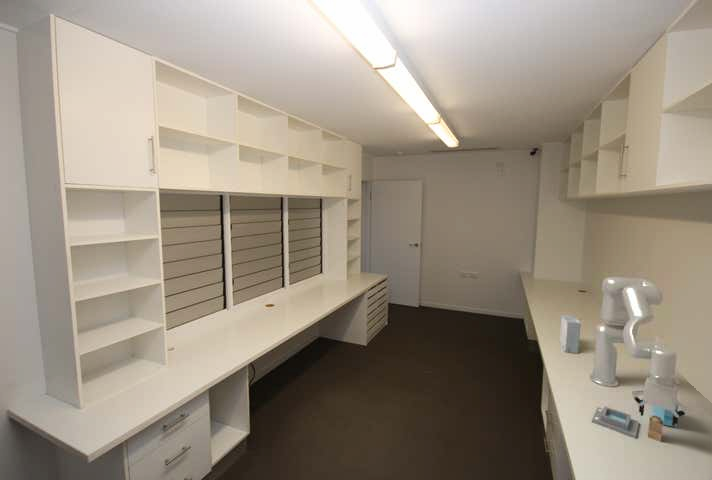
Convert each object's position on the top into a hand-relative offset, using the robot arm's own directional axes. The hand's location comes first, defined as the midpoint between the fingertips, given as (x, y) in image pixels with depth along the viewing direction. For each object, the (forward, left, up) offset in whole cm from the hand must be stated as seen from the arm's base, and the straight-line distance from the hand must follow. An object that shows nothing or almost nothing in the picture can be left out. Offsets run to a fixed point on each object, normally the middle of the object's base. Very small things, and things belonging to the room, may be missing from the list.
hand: (657, 419), depth 140 cm
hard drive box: (-73, -47, -8) cm, 88 cm away
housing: (0, -13, -8) cm, 15 cm away
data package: (-18, +2, -8) cm, 20 cm away
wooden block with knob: (0, 0, -8) cm, 8 cm away
